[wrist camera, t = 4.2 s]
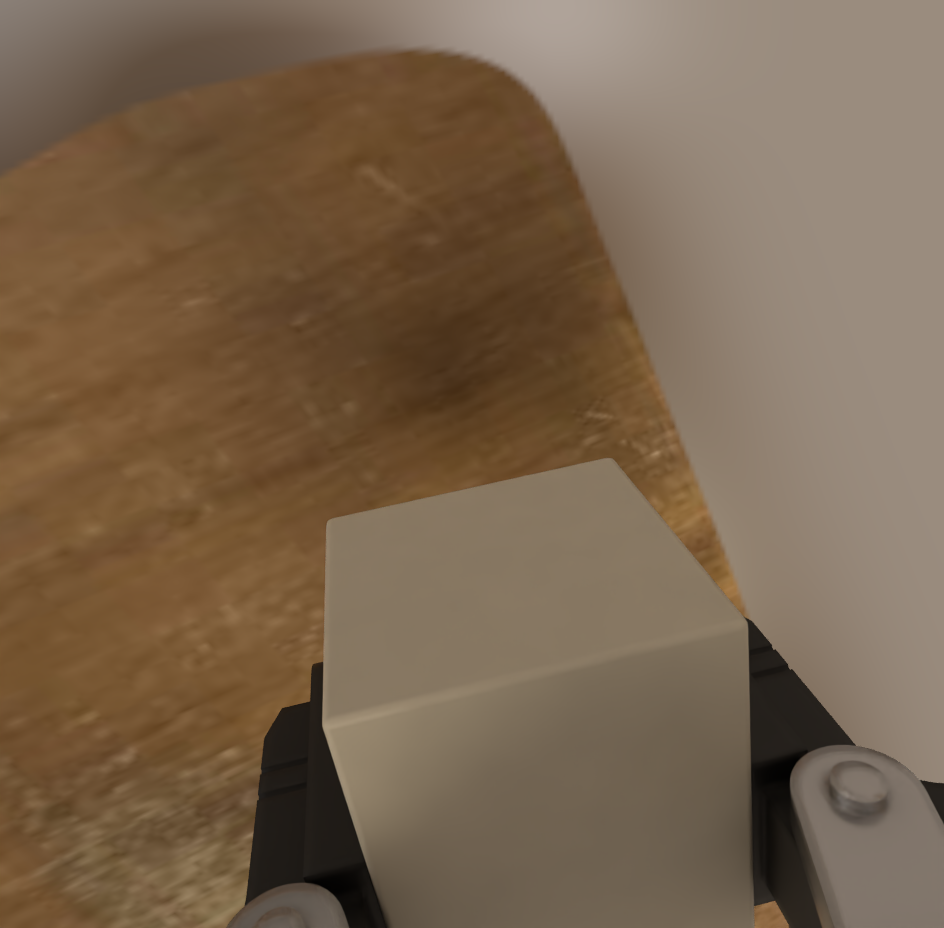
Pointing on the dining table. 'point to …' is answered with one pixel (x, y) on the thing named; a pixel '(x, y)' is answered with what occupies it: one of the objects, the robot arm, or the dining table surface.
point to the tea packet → (539, 710)
